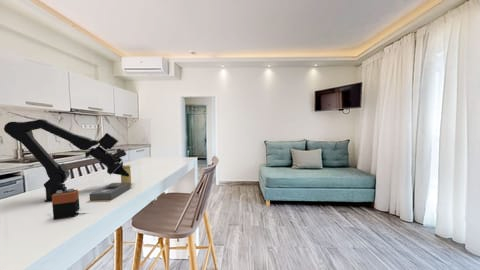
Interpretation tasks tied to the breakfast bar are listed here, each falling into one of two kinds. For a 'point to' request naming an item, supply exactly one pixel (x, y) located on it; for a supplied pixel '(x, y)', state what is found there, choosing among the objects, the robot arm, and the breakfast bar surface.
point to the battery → (65, 203)
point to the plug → (124, 178)
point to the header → (109, 192)
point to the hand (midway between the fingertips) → (128, 175)
